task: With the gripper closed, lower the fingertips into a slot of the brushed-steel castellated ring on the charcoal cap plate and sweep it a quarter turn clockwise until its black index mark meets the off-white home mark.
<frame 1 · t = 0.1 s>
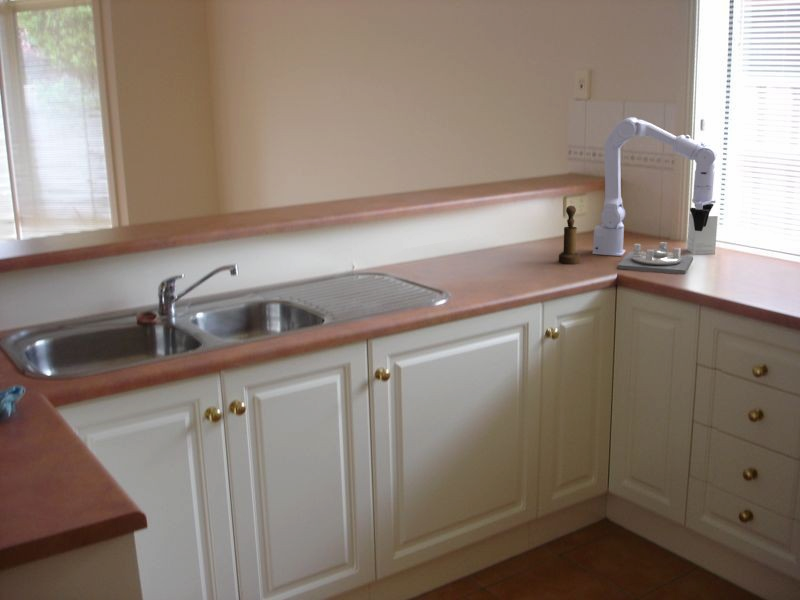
hand: (700, 228, 298), 10 cm above the countertop, tool pointing down, fingers open, 7 cm apart
brown chess piece: (569, 262, 300), on the countertop
ring nut: (656, 253, 294), point 4 cm above the countertop, hinge at 0.0°
supplement box: (700, 252, 311), on the countertop
cap plate: (656, 264, 295), on the countertop
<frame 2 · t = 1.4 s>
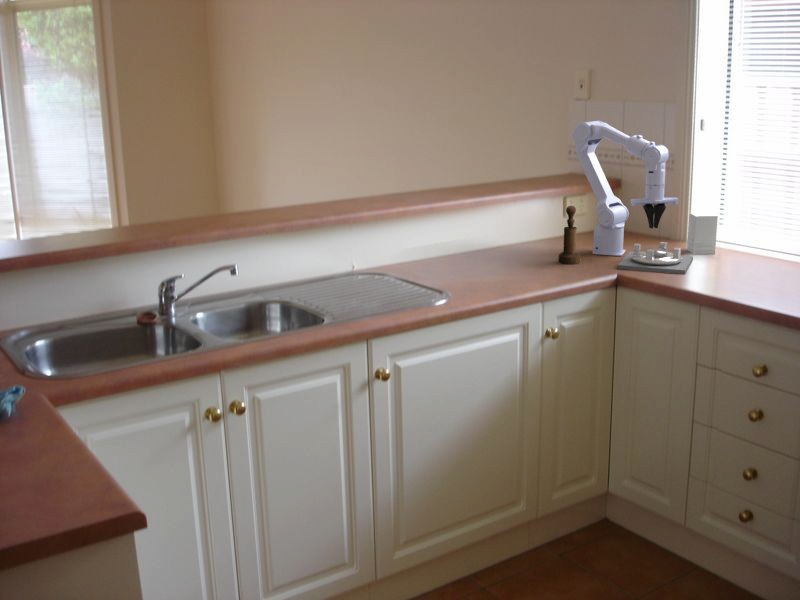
hand: (653, 227, 298), 10 cm above the countertop, tool pointing down, fingers closed
nothing on the countertop moved.
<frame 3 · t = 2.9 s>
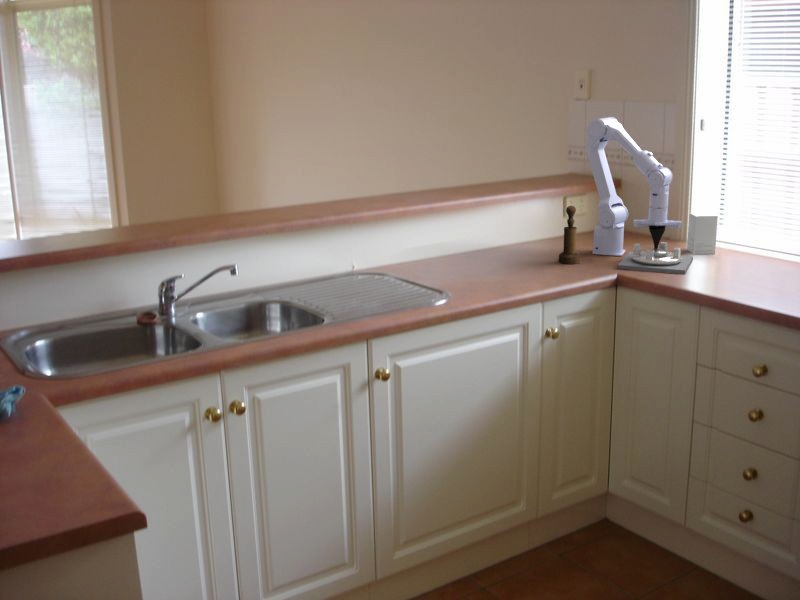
hand: (655, 249, 300), 3 cm above the countertop, tool pointing down, fingers closed, pressing on ring nut
ring nut: (656, 253, 294), point 4 cm above the countertop, hinge at 0.0°, touching gripper
everything else where it was.
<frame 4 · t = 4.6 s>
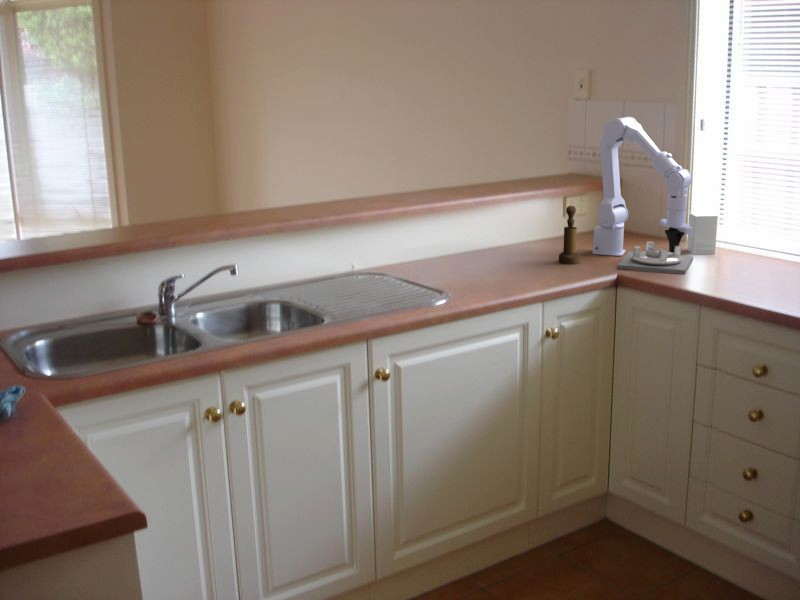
hand: (673, 252, 296), 3 cm above the countertop, tool pointing down, fingers closed, pressing on ring nut
ring nut: (656, 253, 294), point 4 cm above the countertop, hinge at 53.8°, touching gripper
everything else where it was.
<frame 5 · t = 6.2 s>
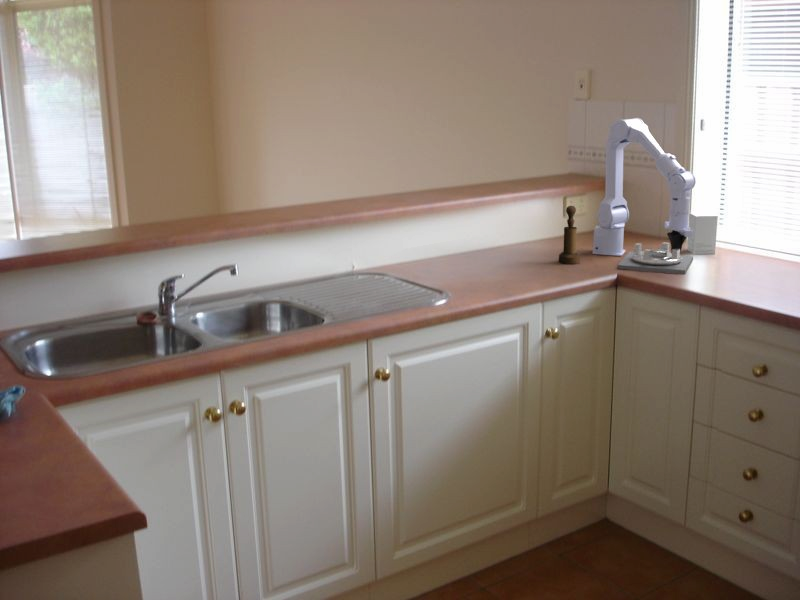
hand: (675, 255, 292), 3 cm above the countertop, tool pointing down, fingers closed, pressing on ring nut
ring nut: (656, 253, 294), point 4 cm above the countertop, hinge at 96.7°, touching gripper
everything else where it was.
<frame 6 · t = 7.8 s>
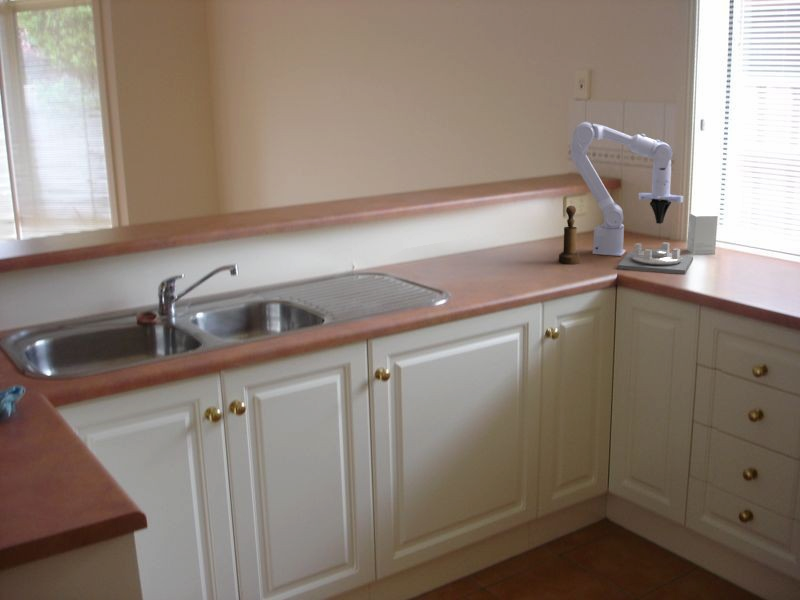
hand: (659, 223, 305), 10 cm above the countertop, tool pointing down, fingers closed
ring nut: (656, 253, 294), point 4 cm above the countertop, hinge at 96.6°
everything else where it was.
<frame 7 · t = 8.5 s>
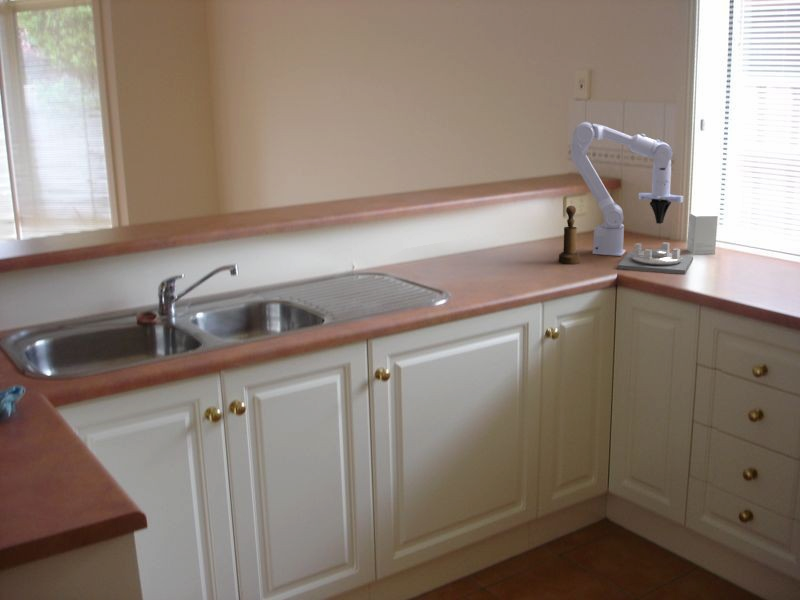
hand: (659, 223, 305), 10 cm above the countertop, tool pointing down, fingers closed
nothing on the countertop moved.
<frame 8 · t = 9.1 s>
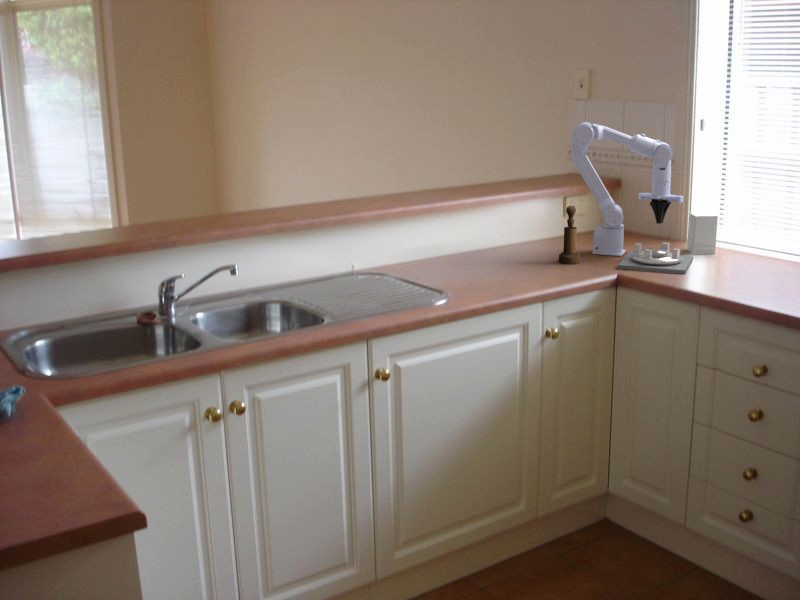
hand: (659, 223, 305), 10 cm above the countertop, tool pointing down, fingers closed
nothing on the countertop moved.
at the end: ring nut at +97° (first picture: +0°); supplement box moved 0.2 cm from its start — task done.
